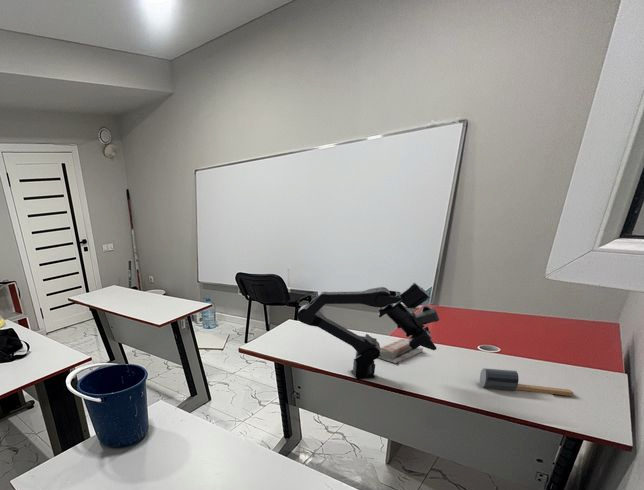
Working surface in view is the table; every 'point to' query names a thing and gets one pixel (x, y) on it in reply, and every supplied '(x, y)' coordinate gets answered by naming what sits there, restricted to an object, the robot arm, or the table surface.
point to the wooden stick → (544, 389)
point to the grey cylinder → (499, 379)
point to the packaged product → (398, 351)
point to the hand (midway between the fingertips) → (435, 349)
